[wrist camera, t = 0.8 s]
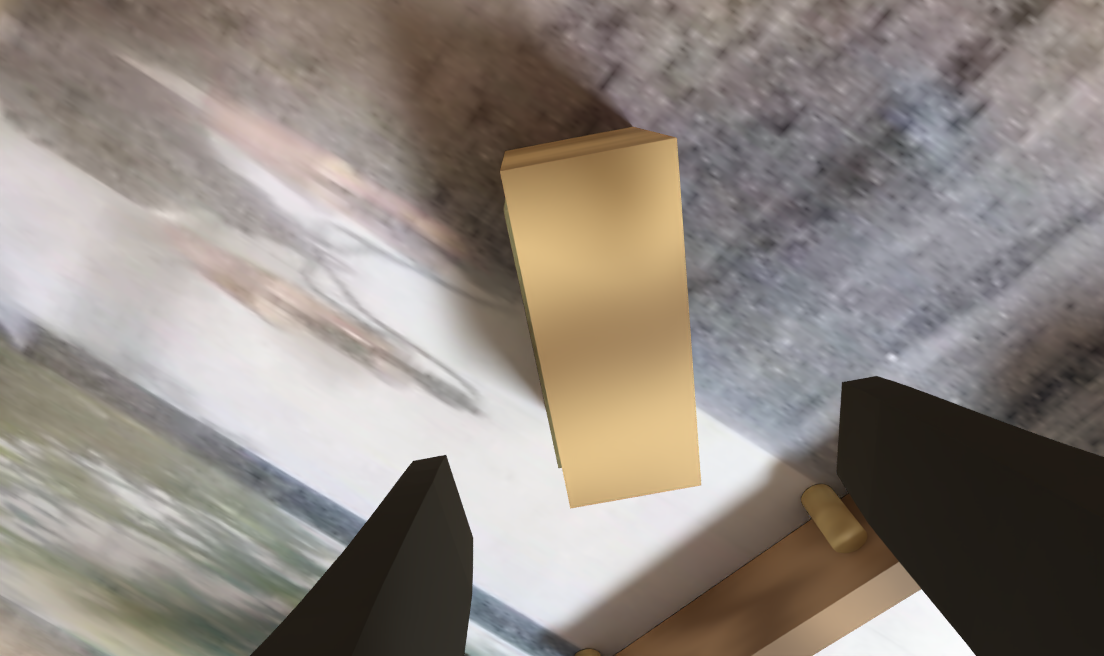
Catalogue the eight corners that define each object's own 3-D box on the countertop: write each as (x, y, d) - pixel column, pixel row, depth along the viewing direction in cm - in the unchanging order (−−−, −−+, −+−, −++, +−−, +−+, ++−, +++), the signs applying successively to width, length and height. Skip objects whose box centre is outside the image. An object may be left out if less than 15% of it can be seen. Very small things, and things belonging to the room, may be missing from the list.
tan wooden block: (659, 397, 20) (701, 485, 16) (555, 416, 20) (565, 509, 16) (631, 126, 16) (676, 137, 12) (500, 151, 16) (493, 172, 12)
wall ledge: (615, 688, 27) (628, 767, 24) (567, 659, 26) (574, 738, 23) (922, 483, 22) (989, 547, 19) (880, 437, 21) (944, 496, 18)
